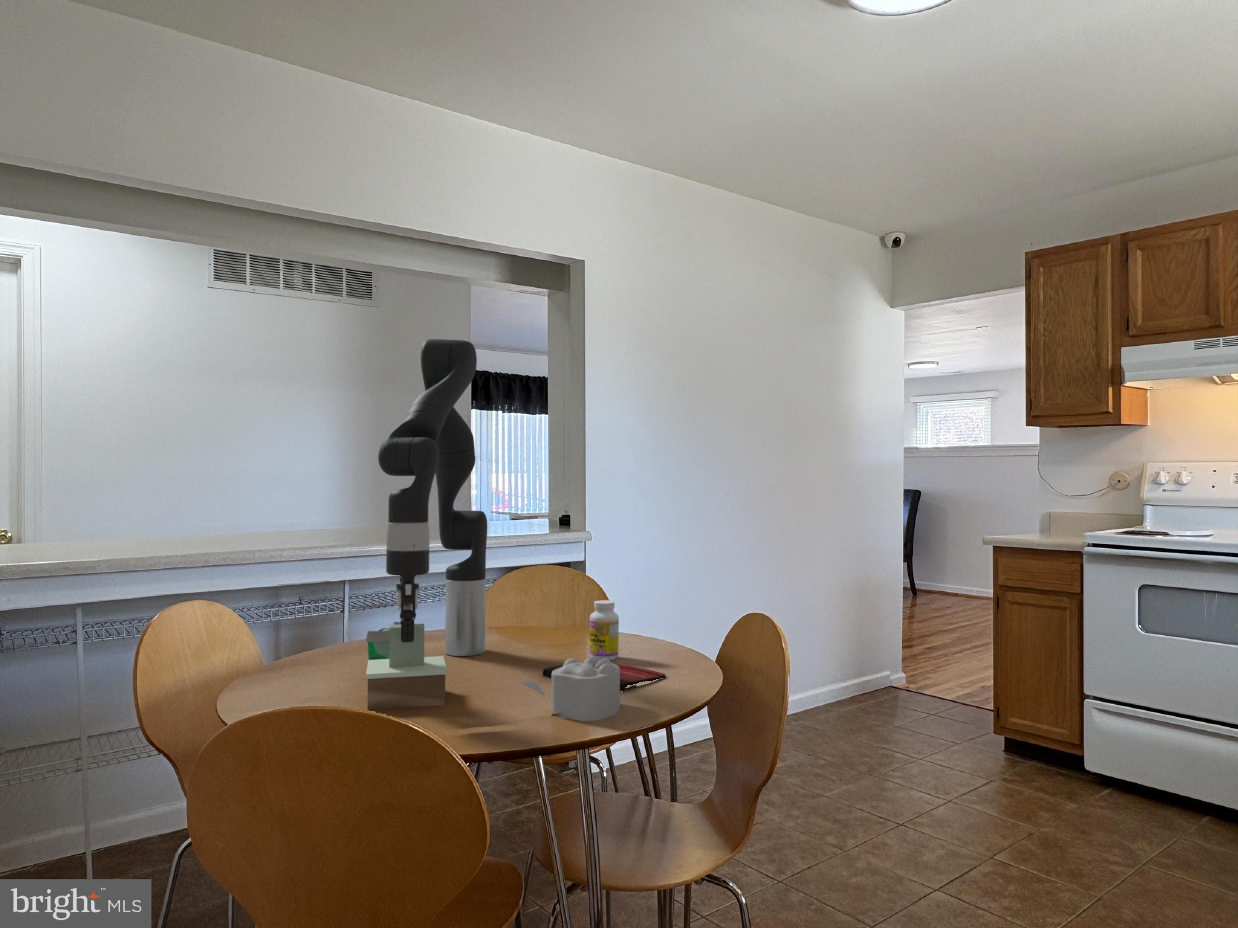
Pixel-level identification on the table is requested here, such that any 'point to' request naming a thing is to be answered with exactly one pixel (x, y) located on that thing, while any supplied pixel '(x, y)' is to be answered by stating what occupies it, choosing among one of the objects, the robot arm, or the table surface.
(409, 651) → the lid
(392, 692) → the box
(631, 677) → the binder
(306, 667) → the table surface
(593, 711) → the grey lumpy filled container
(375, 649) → the food container
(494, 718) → the table surface
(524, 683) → the mat
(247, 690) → the table surface
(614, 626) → the supplement bottle
